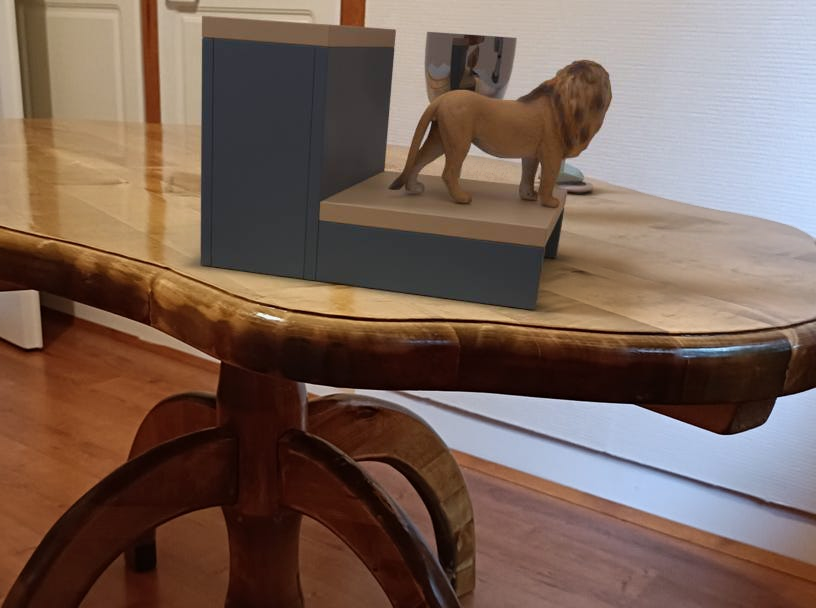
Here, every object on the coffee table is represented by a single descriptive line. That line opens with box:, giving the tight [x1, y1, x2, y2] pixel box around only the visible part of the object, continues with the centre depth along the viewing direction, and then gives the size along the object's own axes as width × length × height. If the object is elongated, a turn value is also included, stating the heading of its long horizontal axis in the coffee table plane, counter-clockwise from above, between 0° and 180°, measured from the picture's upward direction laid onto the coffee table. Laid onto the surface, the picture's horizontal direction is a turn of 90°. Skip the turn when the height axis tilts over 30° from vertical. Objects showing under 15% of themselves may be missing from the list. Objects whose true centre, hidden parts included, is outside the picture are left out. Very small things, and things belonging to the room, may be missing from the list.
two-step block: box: [200, 15, 568, 311], centre depth 65 cm, size 22×17×15 cm
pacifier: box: [537, 158, 594, 193], centre depth 105 cm, size 7×6×6 cm
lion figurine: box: [388, 59, 613, 208], centre depth 62 cm, size 15×5×9 cm, turn 106°
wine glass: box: [423, 31, 518, 179], centre depth 87 cm, size 8×8×15 cm
